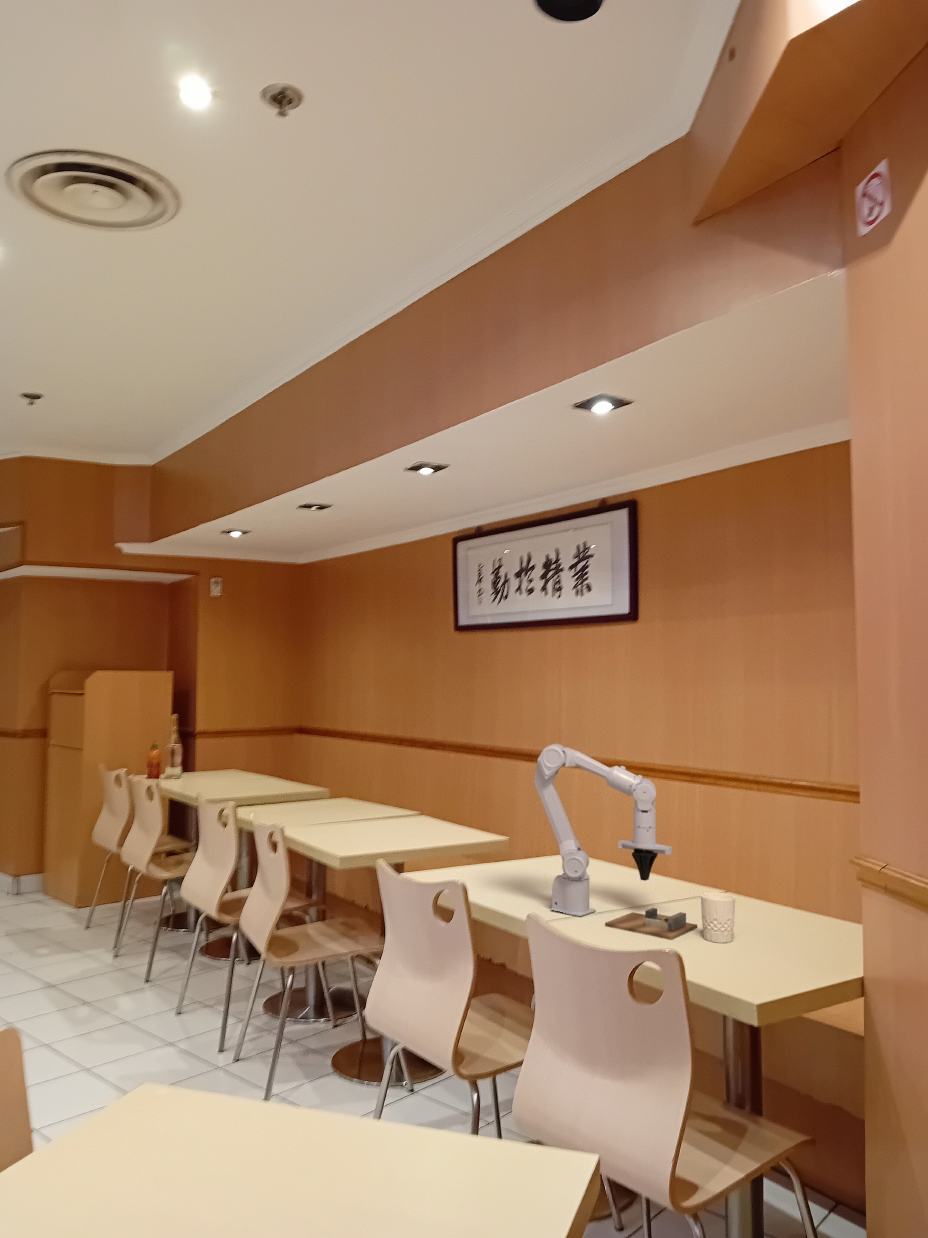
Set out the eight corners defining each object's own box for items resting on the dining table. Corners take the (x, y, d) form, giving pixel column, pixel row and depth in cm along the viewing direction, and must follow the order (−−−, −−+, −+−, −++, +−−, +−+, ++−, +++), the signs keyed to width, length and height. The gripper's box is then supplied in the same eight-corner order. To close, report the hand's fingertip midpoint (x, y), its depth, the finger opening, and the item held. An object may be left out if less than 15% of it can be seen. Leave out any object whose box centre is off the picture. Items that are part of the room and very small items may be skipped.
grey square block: (641, 925, 221) (641, 912, 222) (652, 921, 226) (652, 908, 226) (664, 930, 218) (664, 916, 218) (675, 925, 222) (675, 912, 222)
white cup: (736, 945, 209) (736, 901, 210) (701, 942, 211) (701, 899, 212) (733, 936, 217) (733, 893, 218) (700, 933, 219) (699, 891, 219)
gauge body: (644, 926, 221) (644, 913, 222) (657, 921, 227) (657, 908, 227) (673, 932, 217) (673, 918, 217) (686, 926, 222) (686, 913, 222)
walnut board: (605, 926, 224) (605, 922, 224) (632, 915, 235) (632, 912, 235) (671, 940, 213) (671, 936, 213) (697, 928, 224) (697, 924, 224)
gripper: (677, 828, 234) (677, 881, 233) (627, 822, 243) (627, 873, 242) (664, 831, 229) (664, 886, 228) (614, 825, 238) (614, 877, 237)
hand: (644, 879), depth 235 cm, fingers closed
